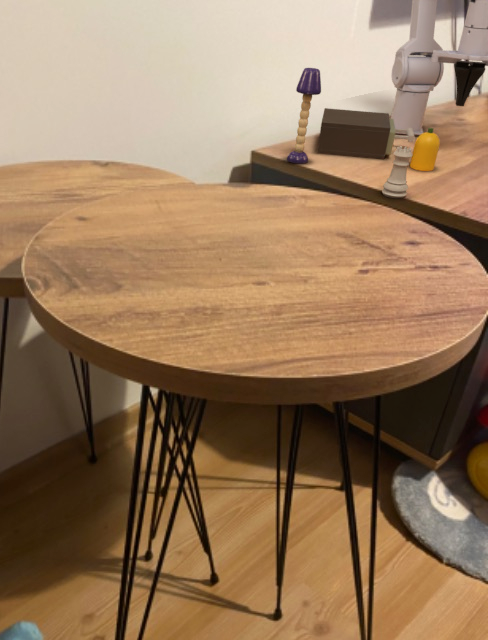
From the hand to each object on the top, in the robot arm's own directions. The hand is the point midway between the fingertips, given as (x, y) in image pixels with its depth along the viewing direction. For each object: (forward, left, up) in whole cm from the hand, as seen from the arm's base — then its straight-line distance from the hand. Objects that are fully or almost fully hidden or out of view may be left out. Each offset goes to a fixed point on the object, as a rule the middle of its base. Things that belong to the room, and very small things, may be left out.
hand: (459, 105), depth 130 cm
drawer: (0, -16, -9) cm, 18 cm away
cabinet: (0, -20, -10) cm, 22 cm away
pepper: (+10, -6, -10) cm, 15 cm away
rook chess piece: (+28, -12, -10) cm, 32 cm away
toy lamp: (+13, -30, -10) cm, 34 cm away
